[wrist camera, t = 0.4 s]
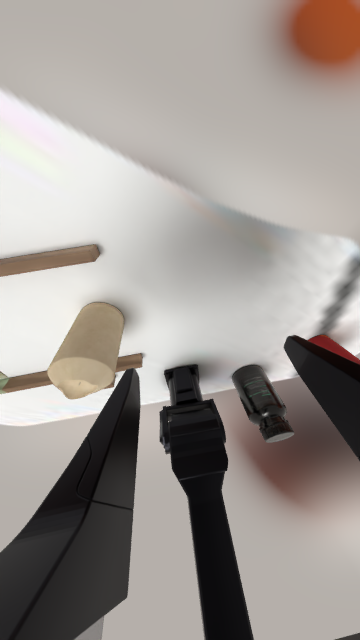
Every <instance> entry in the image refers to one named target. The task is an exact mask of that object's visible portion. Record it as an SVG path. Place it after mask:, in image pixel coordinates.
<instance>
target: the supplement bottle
mask: <svg viewBox="0 0 360 640" xmlns="http://www.w3.org/2000/svg"><path fill="white" fill-rule="evenodd" d="M232 380H233V383H234V386H235V388H236V390H237V393H238V395H239V397H240V399H241V402H242V404H243V406H244V409H245V411H246V413H247V416H248V418H249V420H250V421H251V422H252V423H253V424H255V425H258V426H260V429H259V430H260V432H261V433H262V436H263V438H264V440H265V441H266V442H269V443H270V442H276V441H281V440H284V439H286V438H288V437H290V436H292V435H293V434H294V431H293V430H292V428H291V426H290V425H289V422H288V420H285V418H284V417H285V416H286V413H287V409H286V406H285V405H284V403H283V401H282V400H281V398H280V397H279V395H278V393H277V392H276V390H275V389H274V387H273V386H272V384H271V382H270V380H269V379H268V377H267V376H266V374H265V373H264V371H263V369H262V368H261V367H259V366H256V365H250V366H246V367H243V368H241V369H239V370H238V371H236V372H235V373H234V375H233V377H232Z"/></svg>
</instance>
